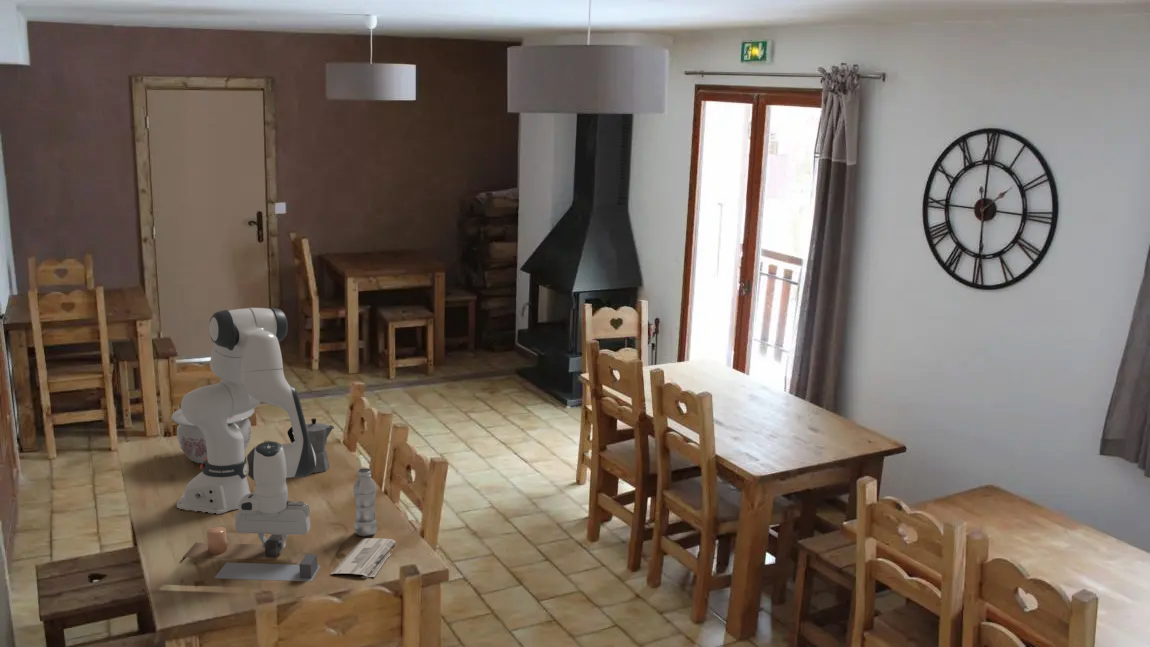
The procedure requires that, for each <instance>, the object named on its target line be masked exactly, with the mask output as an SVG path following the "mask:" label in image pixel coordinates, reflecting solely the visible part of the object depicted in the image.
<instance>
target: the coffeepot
mask: <svg viewBox="0 0 1150 647" xmlns="http://www.w3.org/2000/svg"><path fill="white" fill-rule="evenodd" d="M310 420H311V422H309V423H306V426H307V430H308V435H309V439H310V442H311V445H312V447H313V449H314V452H315V456H316V466H315V469H314V470H313V471H312V473H311V474H318V473H317V472H320V473H324V472H326V471H328V470H329V469H330V462H329V457H328V453H327V450H326V445H327V440H328V437H329V435H330V433H331V432H332V431H333V429H335V426H333V425H331V424H327V423H323V422H317V418H311V419H310ZM286 432H287V436H288V438H289V440H290V443H293V442H294V441H295V437H294V433H293V429H292V426H291V427H290V428H288V430H287V431H286ZM327 469H328V470H327ZM323 471H324V472H323Z"/></svg>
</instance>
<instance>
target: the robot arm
mask: <svg viewBox="0 0 1150 647" xmlns="http://www.w3.org/2000/svg"><path fill="white" fill-rule="evenodd" d="M288 325H289V323H288V319H287V315H286V314H285V312H284V311H283V310H281V309H279V308H276V307H275V308H274V307H268V308H266V307H246V308H236V309H229V310H228V309H224V310H219V311H216V312H214V313H213V314H212V316H211V317H210V320H209V326H208V331H209V335H210V336H209V337H210V339H211V341H212V342H213V343H212V344H213V345H212V350H211V355H210V361H209V367H210V371H211V372H212V373H213V374H214V375H215V376H216V377H217V378H219V379H221V380H220V381H219V382H217V383H213V384H208V385H205V386H201V387H198V388H195V389H193V390H191V391H189V392H188V393H185V394H184V395H183V397H182V399H181V403H180V409H181V411H182V414H183V416H184V417H185V419H186V420H187V421H189V422H190V423H192V424H194V425H196V426H197V427H198V428H199V429H200V430H201V432H202V433H203V435H204V438H205V442H206V449H207V457H206V458H205V461H203V462H202V464H200V466H199V470H202V471H201V472H199V473H198V474H197V475H196V476H194V477H193V478H191V480H190V481H189V482H187V484H186V486H185V488H184V492H183V494H182V495H181V497H180V498H178V500H177V502H176V508H180V509H187V510H186V511H189V510H194V511H193V512H197V511H202V512H201V513H205V512H208V513H207V514H214V513H216V515H220V514H224V513H226V512H230V511H235V510H237V512H236V514H235V519H234V521H235V522H234V526H235V527H234V528H235V530H236V532H237V533H239V534H240V533H241V534H257V538H258V539H259V541H260V542H262V545H263V548H265V543H266V541H267V540H268V539H269V538H267V537H266V535H265V534H267V535H269V534H270V535H272V534H281V535H282V537H283V540H280V541H279V542H278V545H279V546H278V547H279V548H284V549H286V547H285V545H286V546H287V544H286V541H287V538H288V537H289V535H297V536H299V535H300V536H302V535H303V536H305V535H307V534H308V532H309V531H310V529H311V520H310V513H311V512H310V505H308V503H305V502H304V501H293V500H291V501H290V500H289V487H288V484H287V478H289V479H290V478H307V477H308V476H309V475H311V474H312V473H311V472H312V471H313V470H314V469H315V466H316V456H315V452H314V449H313V447H312V445H311V442H310V439H309V435H308V430H307V426H306V424H307V422H306V418H305V414H304V411H303V406H302V403H301V400H300V396H299V393H298V391H297V389H296V387H295V386H293V385H290V384H289V383H288V381H287V379H286V376H285V374H284V373H285V372H284V366H283V364H284V363H283V357H282V355H283V354H282V351H281V346H280V342H282V341H283V340H284V339H285V337H286V336H287V334H288ZM261 402H262V403H265V404H268V405H269V404H270V405H273V406H275V407H278V408H281V409H283V410H284V411H285V412H286V413H287V414H288V417H289V421H290V425H291V427H292V429H293V435H294V439H295V441H294V442H293V443H291V442H290V443H280V442H277V441H264V442H261V443H259V444H257V445H256V446H254V447H253V448H252V449H251V450H250V451H249V453H248V454H247V456H246V453H245V451H244V437H243V435H242V433H241V432H240V431H239V430H237V429H235V428H232V427H229V426H228V424H227V418H228V417H231V416H234V415H238V414H242V413H245V412H248V411H249V410H251V409H253V408H254V409H255V408H256V407H259V405H260V404H261ZM247 476H248V477H249V478H250V480H252V481H254V482H255V487H254V492H251V490H250V487H249V481H248V477H247ZM180 509H179V510H180Z"/></svg>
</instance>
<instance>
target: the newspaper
mask: <svg viewBox="0 0 1150 647" xmlns="http://www.w3.org/2000/svg"><path fill="white" fill-rule="evenodd" d="M395 543H397V542H396V541H395V540H394V539H391V538H382V537H381V538H379V537H378V538H377V537H376V538H373V537H372V538H370V537H367V538H366V537H365V538H362V539H361V540H360V541H358V542H357V544H356V545H355V546H354V547H353V549H351V550H350V552H349V553H348V554H347V555H345V557H344V558H343V560H342V561H340V563H339V564H338V565H337V566H336V567H335V568H334V569H333V571H332V572H331V573H330V574H329V575H330V576H331V575H334V574H336V575H337V574H346V575H348V574H351V575H360V576H361V575H362V576H361V577H360V578H361V579H364V580H366V579H367V578H375V577H376V575H377V574H378V572H379V571H380V569H381V567H383V565H384V563H385V562H386V561H387V559H388V558H389V557H390V556H391V554H390V552H389V550H390V549H391V548H392V547H393V548H394V546H395V545H396V544H395ZM388 552H389V553H388ZM387 553H388V554H387ZM386 554H387V555H386ZM385 555H386V556H385ZM373 569H374V570H373ZM372 570H373V571H372Z"/></svg>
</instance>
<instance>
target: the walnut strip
mask: <svg viewBox="0 0 1150 647" xmlns="http://www.w3.org/2000/svg"><path fill="white" fill-rule="evenodd" d="M283 538H284V537H282V534H270V536H269V537H268V538H267V539H268V540H267V541H266V543H265V548H263V544H256V543H255V544H253V543H249V544H248V543H227V551H226V552H224V553H222V554H216V555H214V554H210V553H209V552H208V542H195V543H194V544H193V545H192V546H191V547H190V548H189V550H187V552H186V553H185V554H184V555H182V556H183V557H182V561H183V560H184V561H185V559H187V558H197V559H198V558H200V559H202V558H203V559H205V558H206V559H229V560H231V559H234V560H235V559H237V560H260V561H261V560H266V561H267V560H269V561H277V560H278V559H279V557H280V556H281V554H282V553H283V551H284V550H285V548H286V547H287V544H286V545H285V548H279V547H278V546H279V545H278V542H279V541H280V540H283Z"/></svg>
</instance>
